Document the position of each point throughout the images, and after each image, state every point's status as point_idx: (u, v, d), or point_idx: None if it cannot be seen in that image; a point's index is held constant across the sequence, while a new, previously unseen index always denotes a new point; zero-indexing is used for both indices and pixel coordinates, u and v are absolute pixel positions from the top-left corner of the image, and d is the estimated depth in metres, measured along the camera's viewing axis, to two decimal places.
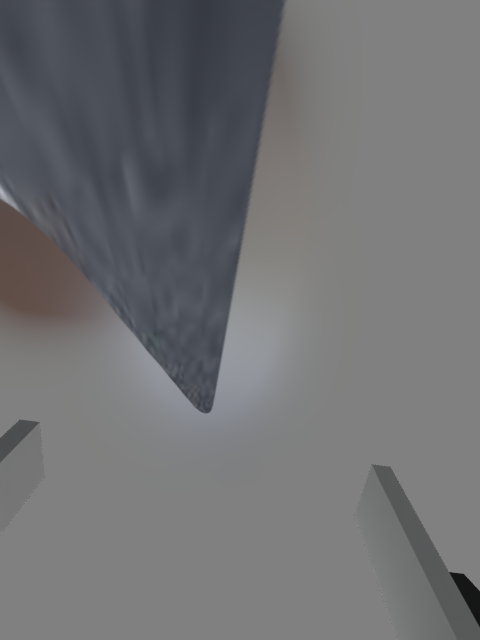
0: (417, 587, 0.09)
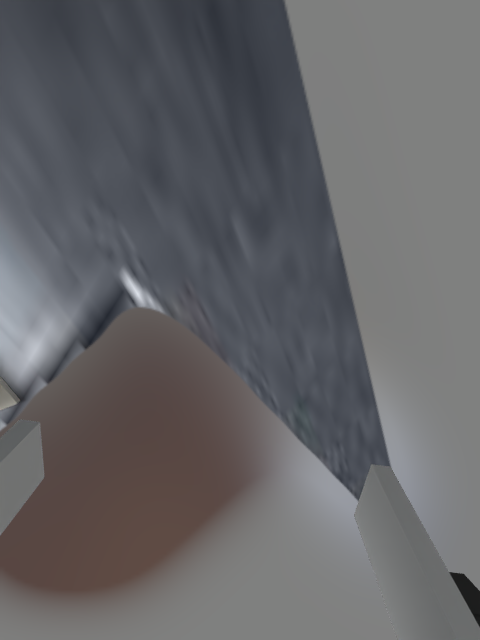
0: (417, 587, 0.09)
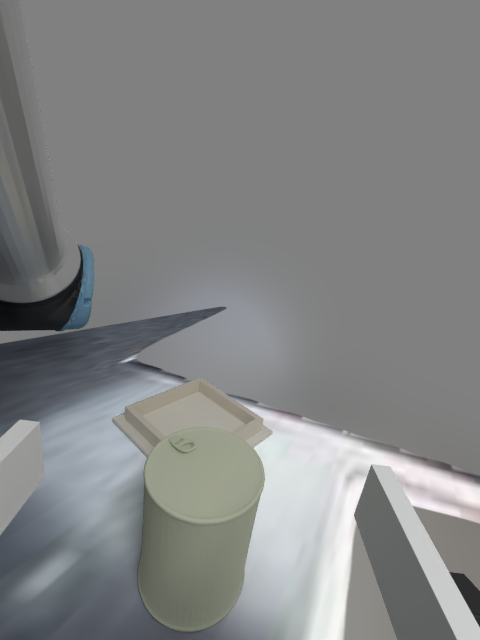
0: (417, 587, 0.09)
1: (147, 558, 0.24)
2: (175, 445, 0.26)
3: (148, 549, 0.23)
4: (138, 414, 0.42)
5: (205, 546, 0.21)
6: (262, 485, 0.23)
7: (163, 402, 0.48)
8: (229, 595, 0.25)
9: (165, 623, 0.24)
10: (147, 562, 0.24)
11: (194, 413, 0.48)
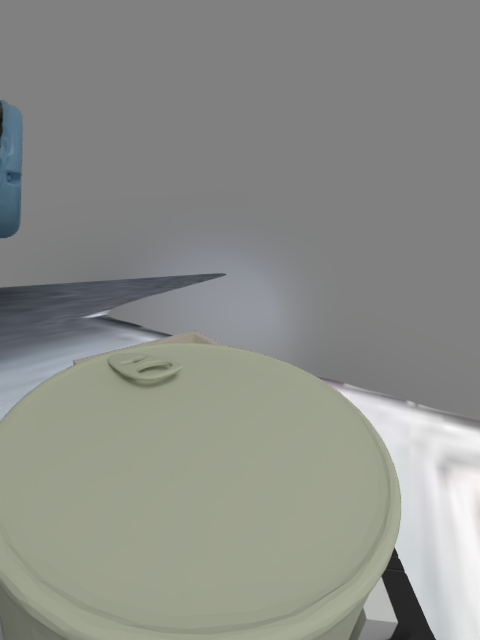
0: None
1: None
2: (121, 367, 0.09)
3: None
4: None
5: None
6: (394, 472, 0.07)
7: None
8: None
9: None
10: None
11: None
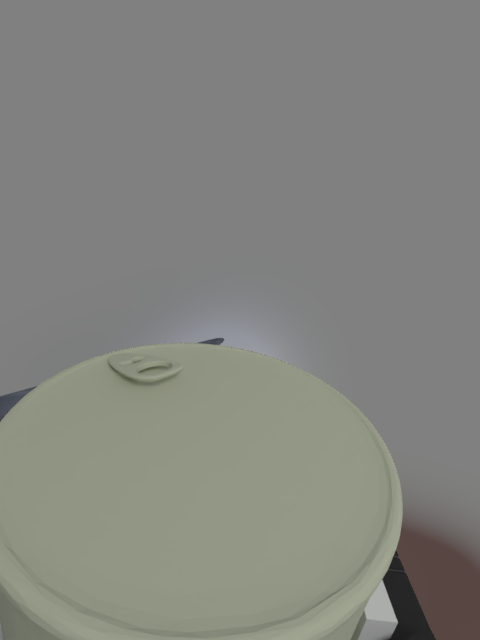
0: None
1: None
2: (121, 368, 0.09)
3: None
4: None
5: None
6: (396, 473, 0.07)
7: None
8: None
9: None
10: None
11: None
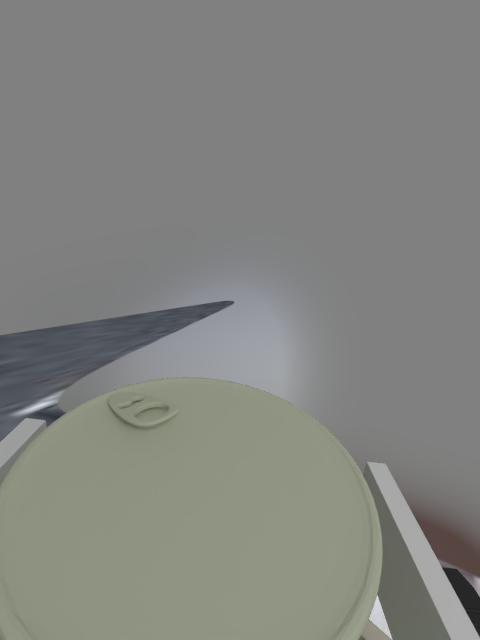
0: (410, 582, 0.09)
1: None
2: (119, 411, 0.10)
3: None
4: None
5: None
6: (378, 523, 0.07)
7: None
8: None
9: None
10: None
11: None
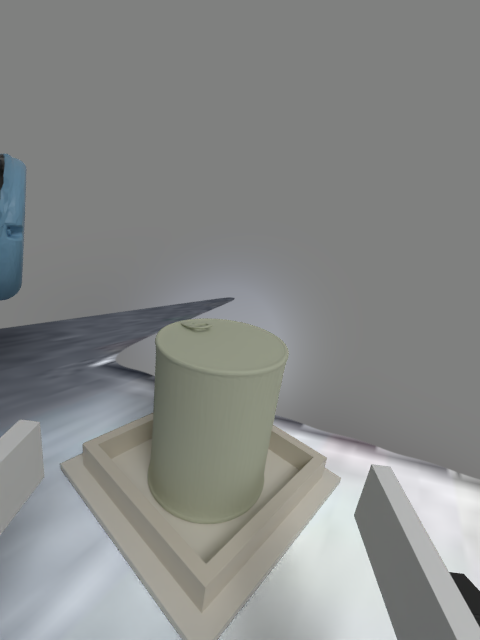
0: (417, 587, 0.09)
1: (159, 440, 0.21)
2: (188, 325, 0.23)
3: (161, 428, 0.21)
4: (105, 458, 0.23)
5: (227, 407, 0.19)
6: (287, 355, 0.21)
7: None
8: (250, 486, 0.22)
9: (180, 515, 0.21)
10: (159, 446, 0.21)
11: None
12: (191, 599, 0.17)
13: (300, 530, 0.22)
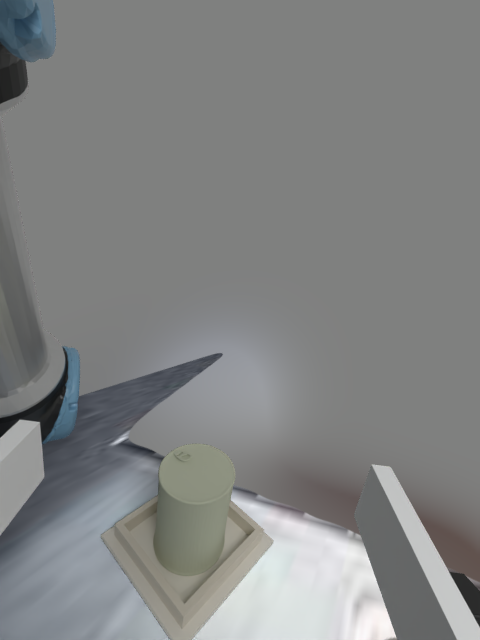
0: (417, 587, 0.09)
1: (160, 529, 0.37)
2: (177, 456, 0.39)
3: (161, 523, 0.37)
4: (128, 535, 0.39)
5: (197, 518, 0.35)
6: (233, 482, 0.37)
7: (156, 508, 0.44)
8: (213, 553, 0.38)
9: (172, 571, 0.38)
10: (160, 532, 0.37)
11: None
12: (176, 621, 0.33)
13: (241, 579, 0.38)
